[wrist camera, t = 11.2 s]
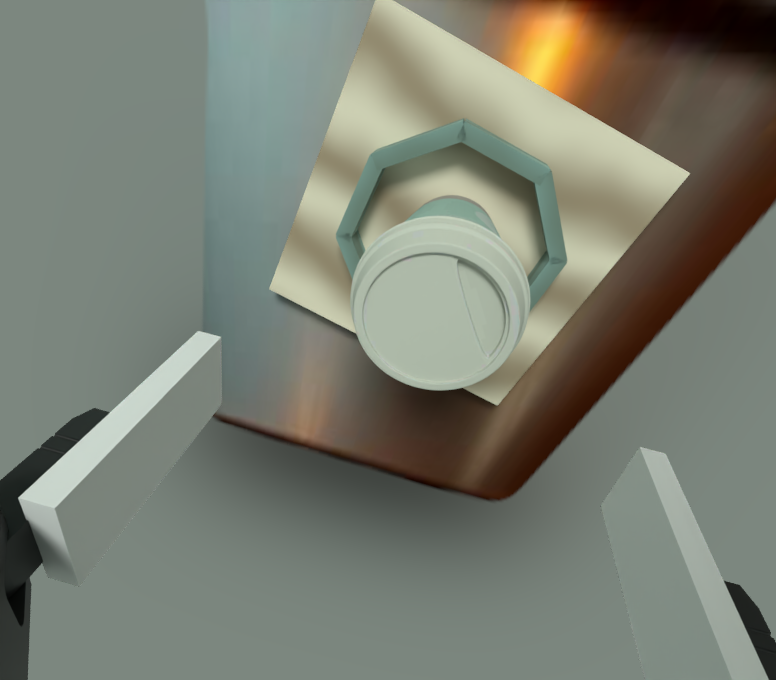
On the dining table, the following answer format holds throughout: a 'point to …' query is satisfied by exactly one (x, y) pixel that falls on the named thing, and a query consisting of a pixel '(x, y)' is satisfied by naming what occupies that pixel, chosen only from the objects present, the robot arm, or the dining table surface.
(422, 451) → the dining table surface
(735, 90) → the dining table surface
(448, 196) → the coffee cup
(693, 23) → the dining table surface
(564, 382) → the dining table surface
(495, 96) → the serving board
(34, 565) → the robot arm
